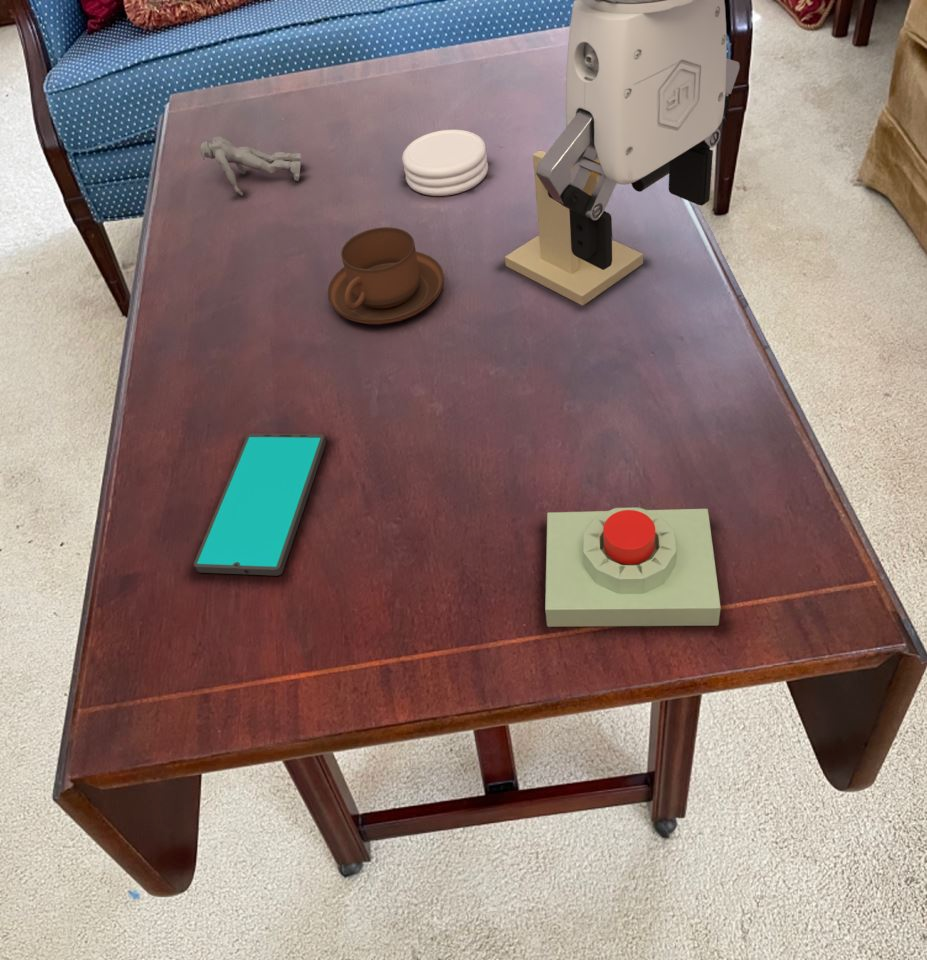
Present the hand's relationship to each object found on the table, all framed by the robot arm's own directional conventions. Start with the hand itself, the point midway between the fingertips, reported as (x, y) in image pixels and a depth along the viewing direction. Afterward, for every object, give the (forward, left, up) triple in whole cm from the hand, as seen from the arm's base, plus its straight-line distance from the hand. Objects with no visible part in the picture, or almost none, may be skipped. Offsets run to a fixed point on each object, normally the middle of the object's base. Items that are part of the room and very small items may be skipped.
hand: (641, 228), depth 64 cm
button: (+1, +14, -17) cm, 22 cm away
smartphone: (+31, +6, -20) cm, 38 cm away
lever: (+2, -22, -9) cm, 24 cm away
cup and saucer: (+24, -22, -20) cm, 38 cm away
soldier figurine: (+44, -48, -20) cm, 68 cm away
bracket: (+5, -26, -20) cm, 33 cm away
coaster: (+20, -46, -20) cm, 54 cm away
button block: (+1, +14, -20) cm, 25 cm away
